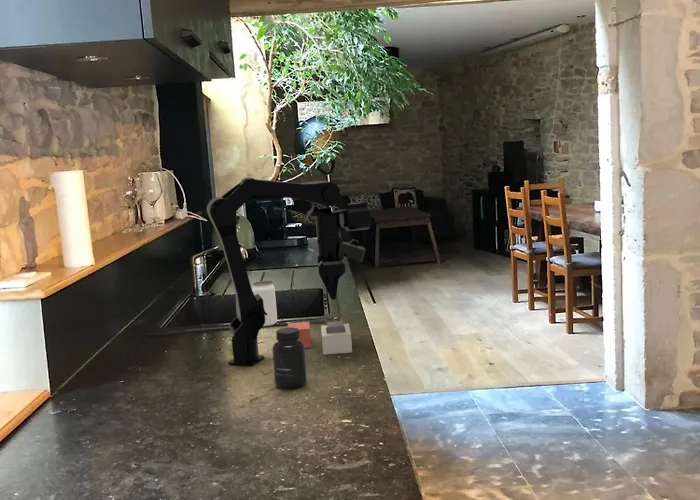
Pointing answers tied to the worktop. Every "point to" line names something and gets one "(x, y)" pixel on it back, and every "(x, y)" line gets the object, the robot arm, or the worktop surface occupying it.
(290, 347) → the supplement bottle
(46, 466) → the worktop surface
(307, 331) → the salmon red block
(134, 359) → the worktop surface
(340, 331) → the button
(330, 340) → the box
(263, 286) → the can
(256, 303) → the robot arm
